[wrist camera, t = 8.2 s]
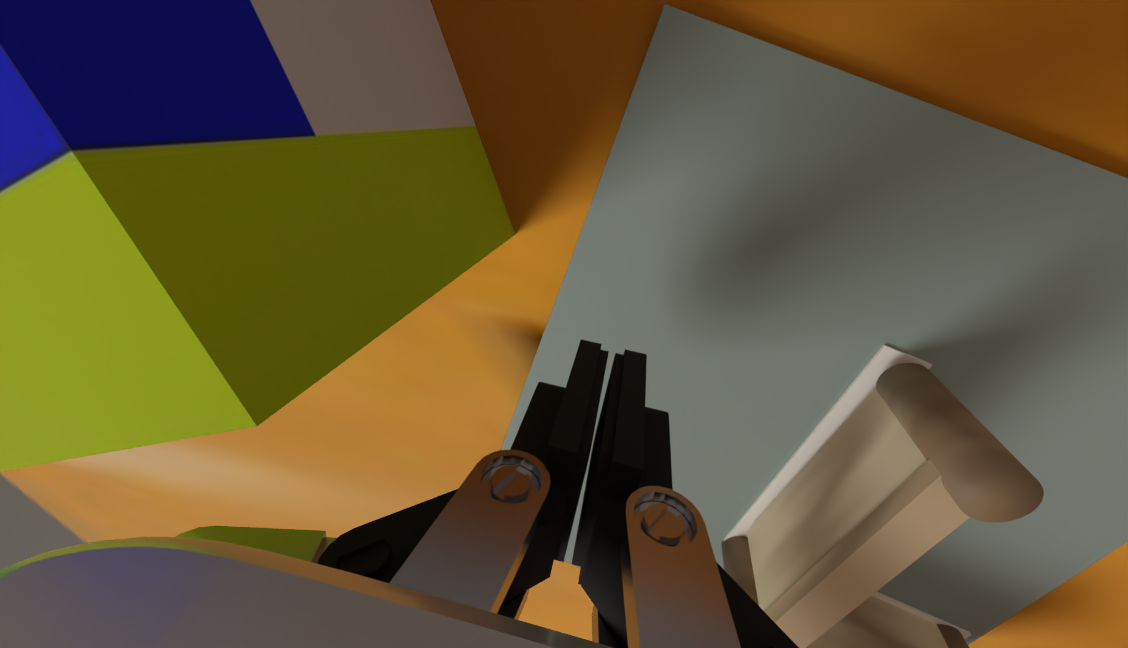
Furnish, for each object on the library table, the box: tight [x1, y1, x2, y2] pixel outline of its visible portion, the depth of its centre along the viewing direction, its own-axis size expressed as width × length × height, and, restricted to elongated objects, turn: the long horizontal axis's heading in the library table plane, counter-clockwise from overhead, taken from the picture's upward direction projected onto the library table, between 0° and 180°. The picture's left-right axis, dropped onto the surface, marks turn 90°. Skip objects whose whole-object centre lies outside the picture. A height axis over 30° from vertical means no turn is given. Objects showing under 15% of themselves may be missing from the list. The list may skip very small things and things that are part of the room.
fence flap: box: [747, 363, 1044, 648], centre depth 12 cm, size 8×1×4 cm, turn 160°
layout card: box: [501, 4, 1128, 645], centre depth 15 cm, size 19×20×1 cm
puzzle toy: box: [0, 0, 515, 471], centre depth 10 cm, size 10×10×10 cm
